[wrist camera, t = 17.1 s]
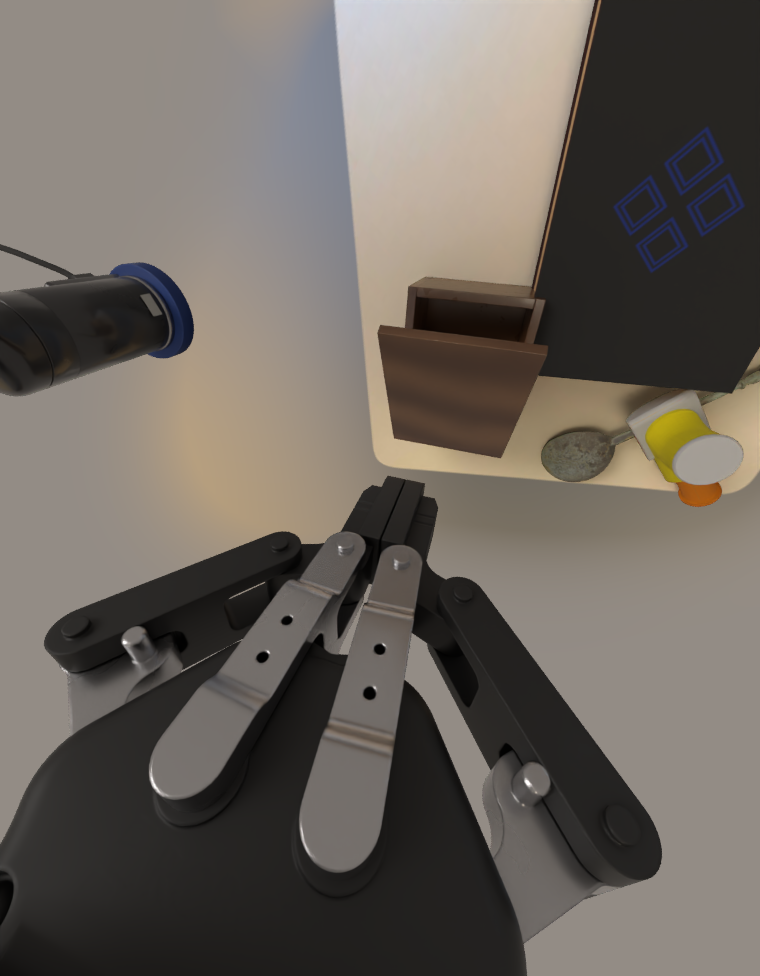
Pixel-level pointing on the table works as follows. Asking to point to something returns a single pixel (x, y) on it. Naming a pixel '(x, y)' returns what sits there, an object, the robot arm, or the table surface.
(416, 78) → the table surface
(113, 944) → the robot arm
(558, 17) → the table surface
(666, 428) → the toy
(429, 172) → the table surface
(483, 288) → the box
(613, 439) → the soupspoon
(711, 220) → the book
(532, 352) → the lid
